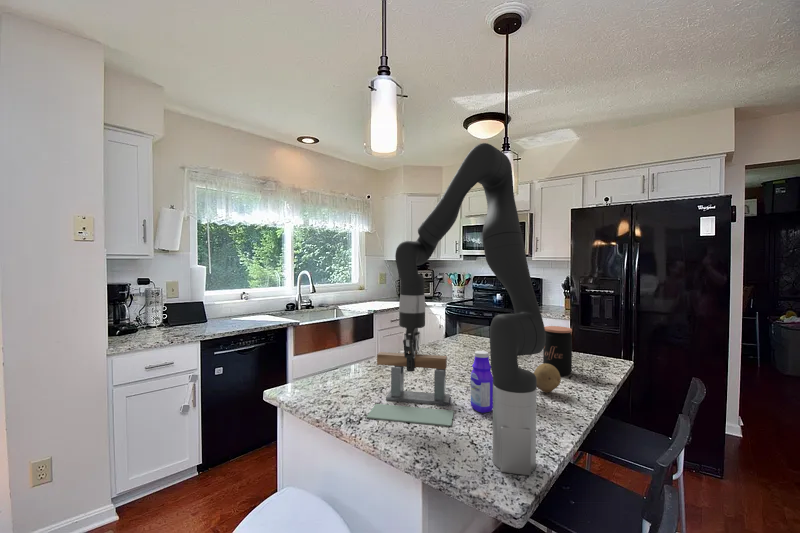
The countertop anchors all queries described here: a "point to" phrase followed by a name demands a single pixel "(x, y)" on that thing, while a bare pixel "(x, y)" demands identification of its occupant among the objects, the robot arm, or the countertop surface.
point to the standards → (418, 397)
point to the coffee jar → (558, 349)
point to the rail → (420, 360)
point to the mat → (411, 414)
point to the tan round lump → (547, 377)
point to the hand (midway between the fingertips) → (411, 369)
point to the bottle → (481, 383)
